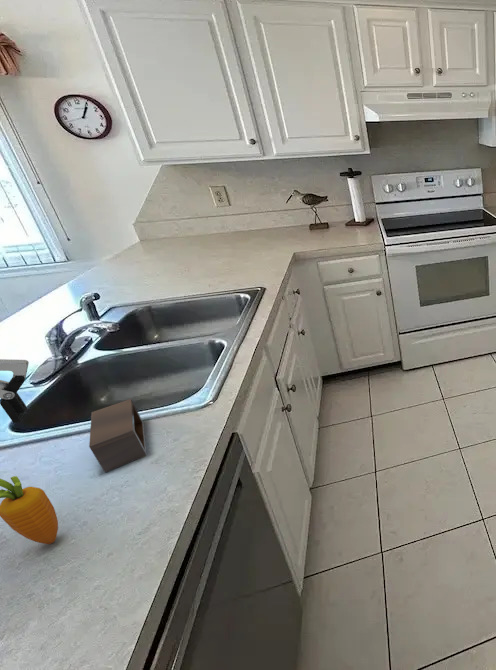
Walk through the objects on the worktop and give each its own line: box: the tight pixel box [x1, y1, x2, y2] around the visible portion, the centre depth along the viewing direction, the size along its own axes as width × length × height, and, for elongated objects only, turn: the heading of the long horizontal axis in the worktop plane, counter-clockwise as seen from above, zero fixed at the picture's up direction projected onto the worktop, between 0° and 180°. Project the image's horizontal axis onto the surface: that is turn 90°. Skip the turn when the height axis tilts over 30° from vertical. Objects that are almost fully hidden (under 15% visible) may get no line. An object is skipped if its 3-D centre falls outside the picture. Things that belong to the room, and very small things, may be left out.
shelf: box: [88, 398, 147, 474], centre depth 87 cm, size 13×7×7 cm, turn 41°
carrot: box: [0, 475, 59, 545], centre depth 66 cm, size 5×5×15 cm
